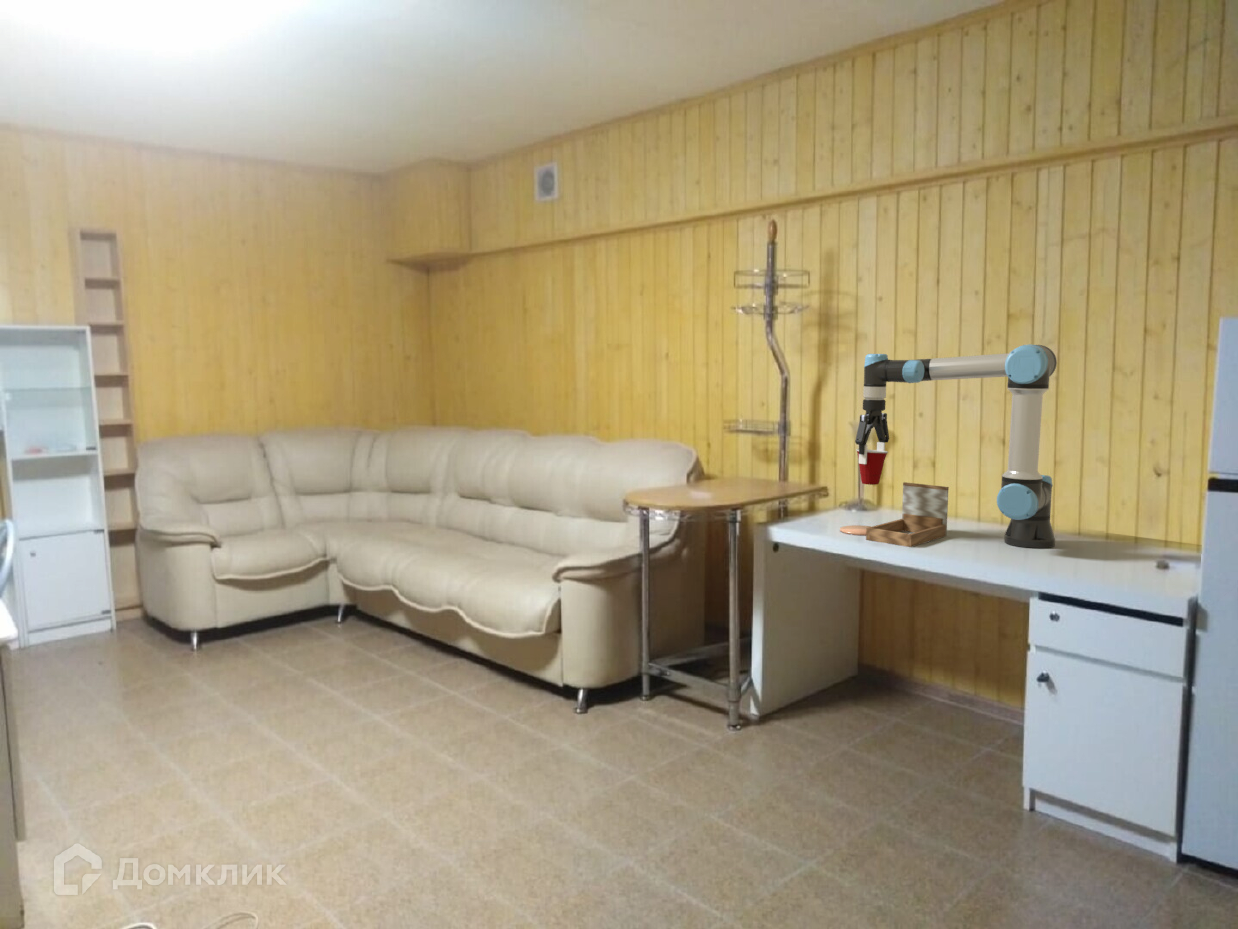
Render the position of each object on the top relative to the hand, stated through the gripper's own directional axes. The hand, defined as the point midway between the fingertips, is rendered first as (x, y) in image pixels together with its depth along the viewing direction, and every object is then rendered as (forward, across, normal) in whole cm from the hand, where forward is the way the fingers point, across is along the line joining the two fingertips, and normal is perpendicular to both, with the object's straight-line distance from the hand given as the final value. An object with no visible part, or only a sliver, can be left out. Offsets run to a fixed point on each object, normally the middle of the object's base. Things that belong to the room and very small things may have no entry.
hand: (871, 462), depth 306 cm
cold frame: (+25, -1, +14) cm, 28 cm away
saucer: (+25, 0, -3) cm, 25 cm away
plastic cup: (+8, 0, 0) cm, 8 cm away
